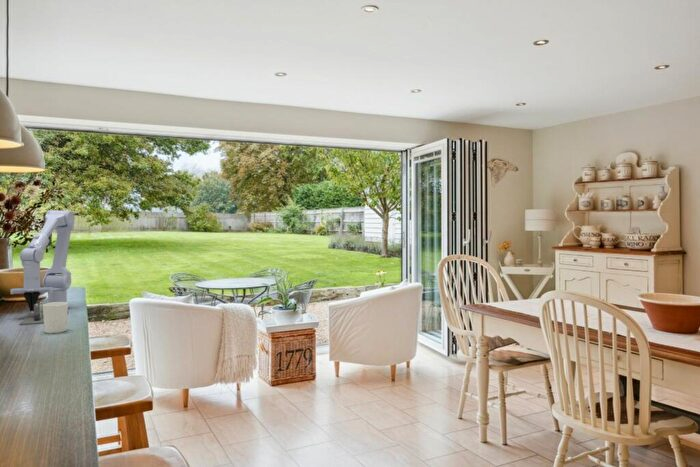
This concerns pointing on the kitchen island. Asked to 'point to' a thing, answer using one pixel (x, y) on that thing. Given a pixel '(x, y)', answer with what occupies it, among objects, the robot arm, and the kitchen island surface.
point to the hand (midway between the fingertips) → (32, 310)
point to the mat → (31, 320)
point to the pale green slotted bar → (41, 308)
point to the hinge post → (36, 312)
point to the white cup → (55, 316)
